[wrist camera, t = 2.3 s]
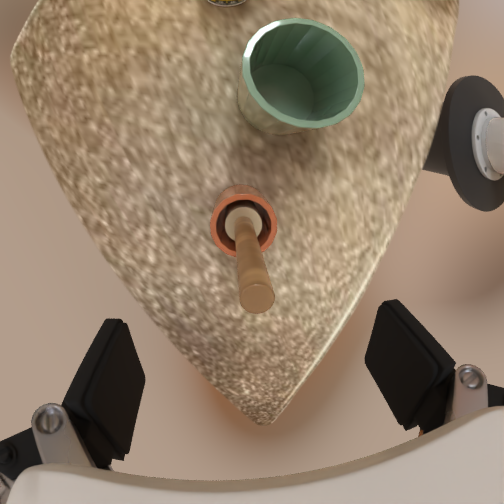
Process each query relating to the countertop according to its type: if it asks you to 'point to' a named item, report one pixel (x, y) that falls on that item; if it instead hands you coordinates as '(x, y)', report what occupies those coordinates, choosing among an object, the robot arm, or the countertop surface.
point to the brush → (249, 256)
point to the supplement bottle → (226, 2)
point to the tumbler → (298, 77)
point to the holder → (263, 209)
